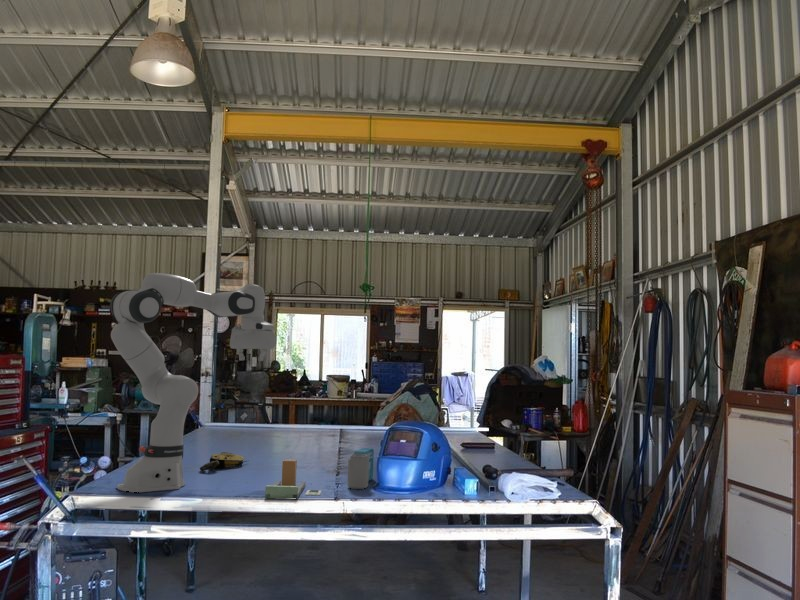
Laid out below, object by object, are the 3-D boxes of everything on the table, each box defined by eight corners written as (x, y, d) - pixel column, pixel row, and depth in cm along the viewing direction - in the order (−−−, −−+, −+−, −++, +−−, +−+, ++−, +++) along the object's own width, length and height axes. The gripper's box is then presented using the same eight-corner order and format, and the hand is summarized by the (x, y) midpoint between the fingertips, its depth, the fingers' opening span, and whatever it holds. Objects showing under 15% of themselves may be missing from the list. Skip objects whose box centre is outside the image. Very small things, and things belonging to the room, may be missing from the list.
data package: (364, 484, 250) (365, 451, 251) (352, 483, 251) (353, 451, 252) (372, 479, 261) (373, 448, 263) (361, 478, 263) (363, 447, 264)
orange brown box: (282, 487, 238) (284, 458, 239) (295, 487, 238) (296, 459, 239) (281, 489, 234) (282, 460, 235) (294, 490, 234) (295, 460, 235)
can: (370, 487, 244) (371, 454, 245) (364, 490, 237) (365, 456, 238) (351, 485, 246) (352, 452, 247) (344, 489, 239) (345, 455, 240)
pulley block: (189, 455, 265) (223, 447, 294) (186, 470, 265) (221, 460, 294) (220, 463, 262) (252, 454, 291) (218, 478, 262) (250, 467, 291)
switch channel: (276, 485, 242) (277, 473, 243) (323, 486, 243) (324, 475, 243) (265, 498, 218) (265, 486, 218) (317, 499, 219) (318, 487, 219)
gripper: (227, 325, 265) (225, 360, 263) (267, 325, 255) (266, 361, 254) (237, 326, 270) (236, 360, 269) (278, 326, 261) (276, 361, 260)
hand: (251, 360), depth 261 cm, fingers open, 8 cm apart
